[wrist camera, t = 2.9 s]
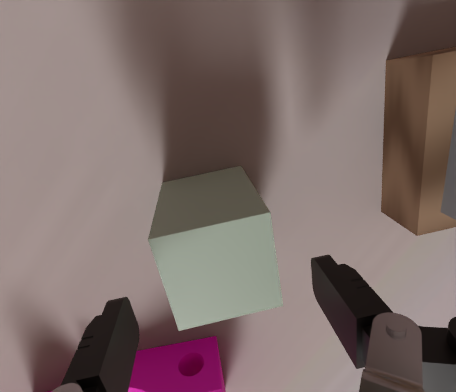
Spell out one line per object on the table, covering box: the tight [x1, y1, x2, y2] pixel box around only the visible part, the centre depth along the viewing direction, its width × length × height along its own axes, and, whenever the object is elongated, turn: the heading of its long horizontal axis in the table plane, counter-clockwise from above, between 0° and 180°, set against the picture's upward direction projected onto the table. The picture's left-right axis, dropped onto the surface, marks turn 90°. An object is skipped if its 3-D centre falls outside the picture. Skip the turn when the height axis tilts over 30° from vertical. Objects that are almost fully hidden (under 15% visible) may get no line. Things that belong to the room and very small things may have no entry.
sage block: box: [148, 166, 283, 331], centre depth 16 cm, size 5×5×7 cm
